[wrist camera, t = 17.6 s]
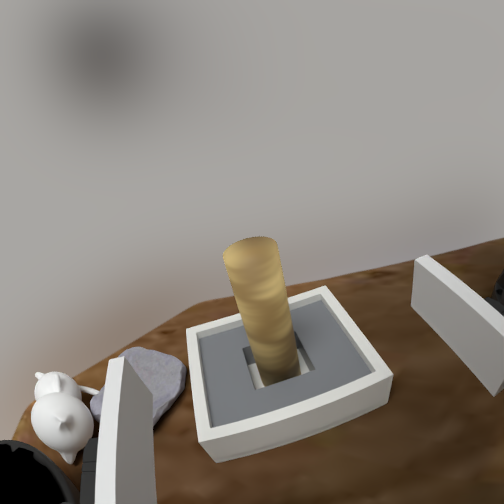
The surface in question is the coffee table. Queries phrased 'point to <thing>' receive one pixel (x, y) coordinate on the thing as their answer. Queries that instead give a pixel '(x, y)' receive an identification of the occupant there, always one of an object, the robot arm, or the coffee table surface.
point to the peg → (263, 307)
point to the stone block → (151, 379)
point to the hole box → (286, 392)
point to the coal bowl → (32, 477)
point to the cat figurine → (62, 414)
